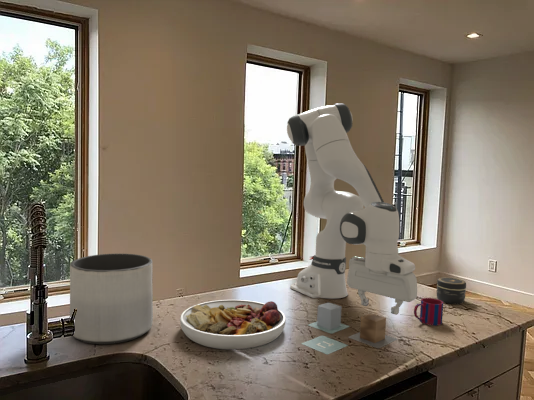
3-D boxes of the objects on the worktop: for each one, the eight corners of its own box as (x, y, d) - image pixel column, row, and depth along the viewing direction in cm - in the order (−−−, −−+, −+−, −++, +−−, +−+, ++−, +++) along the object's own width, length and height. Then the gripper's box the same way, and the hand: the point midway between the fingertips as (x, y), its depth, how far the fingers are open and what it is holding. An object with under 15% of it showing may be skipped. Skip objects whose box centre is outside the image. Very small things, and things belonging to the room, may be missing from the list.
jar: (467, 300, 168) (468, 279, 167) (462, 306, 160) (464, 285, 159) (439, 294, 173) (440, 275, 173) (433, 301, 165) (434, 280, 164)
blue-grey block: (316, 325, 135) (317, 305, 135) (327, 321, 139) (328, 302, 138) (330, 329, 132) (331, 309, 131) (340, 325, 135) (341, 306, 135)
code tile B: (307, 326, 136) (307, 324, 135) (326, 320, 142) (326, 318, 142) (331, 335, 129) (331, 333, 129) (349, 328, 135) (349, 326, 135)
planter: (129, 312, 143) (129, 250, 142) (167, 332, 128) (168, 263, 126) (57, 329, 128) (56, 259, 126) (90, 354, 112) (90, 275, 110)
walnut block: (359, 337, 127) (360, 316, 126) (369, 333, 130) (370, 313, 130) (375, 343, 123) (376, 321, 123) (384, 338, 127) (386, 317, 126)
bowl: (200, 363, 110) (201, 332, 109) (167, 322, 136) (168, 296, 136) (304, 343, 124) (306, 315, 123) (256, 309, 150) (257, 286, 150)
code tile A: (300, 345, 121) (300, 343, 121) (322, 337, 128) (322, 335, 128) (327, 356, 115) (327, 354, 115) (348, 347, 121) (348, 345, 121)
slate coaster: (347, 339, 127) (347, 337, 127) (367, 330, 134) (367, 328, 134) (378, 350, 120) (378, 348, 120) (397, 341, 127) (397, 339, 127)
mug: (446, 325, 141) (448, 303, 140) (418, 327, 138) (420, 305, 138) (433, 317, 147) (434, 297, 147) (406, 319, 145) (407, 298, 144)
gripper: (343, 256, 130) (342, 303, 132) (410, 270, 116) (407, 321, 118) (355, 253, 135) (354, 298, 136) (421, 265, 121) (418, 315, 122)
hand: (379, 309), depth 127 cm, fingers open, 8 cm apart
